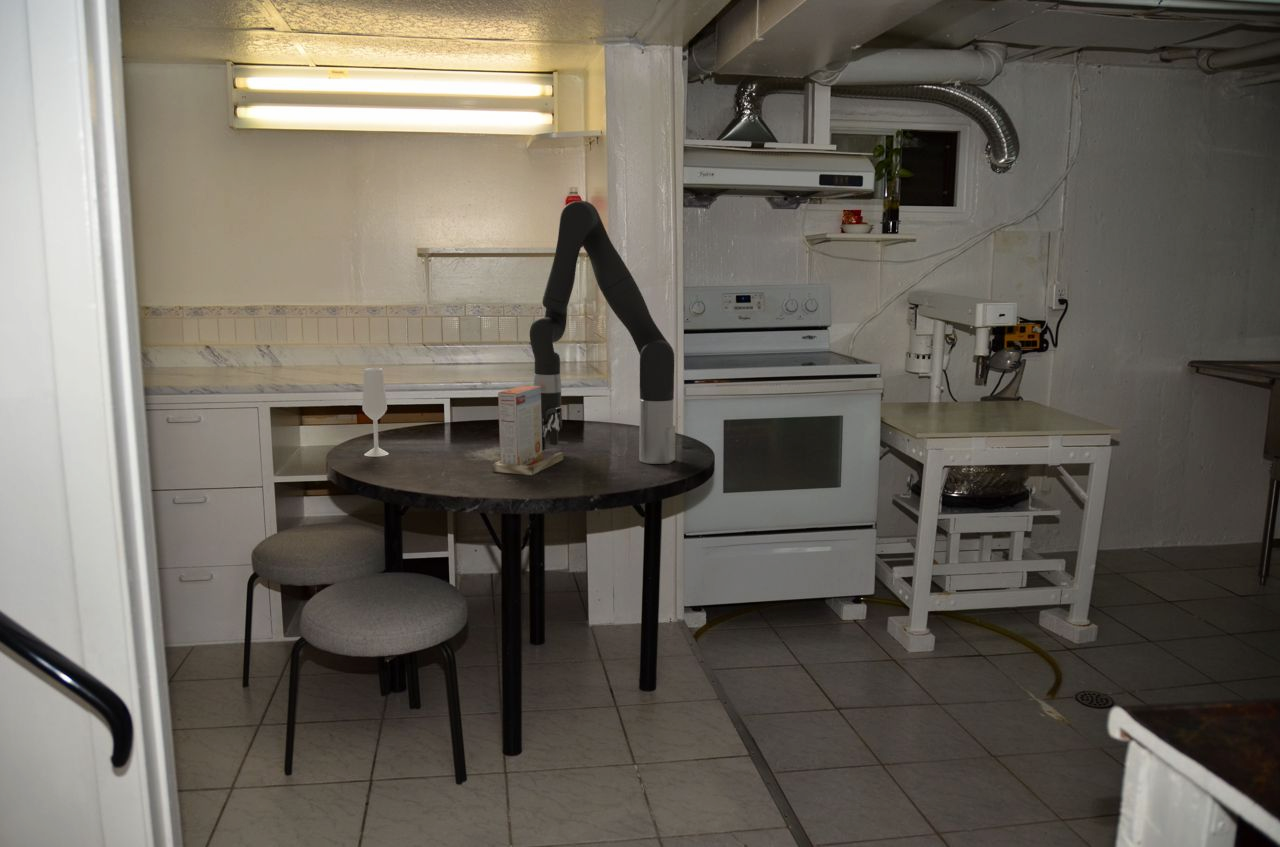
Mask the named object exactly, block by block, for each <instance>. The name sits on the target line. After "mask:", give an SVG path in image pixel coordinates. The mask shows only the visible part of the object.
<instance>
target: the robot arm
mask: <svg viewBox="0 0 1280 847" xmlns="http://www.w3.org/2000/svg"><path fill="white" fill-rule="evenodd" d="M559 218H560V219H559V225H558V226H559V227H558V235H557V242H556V248H555V253H554V258H553V261H552V265H551V269H550V272H549V276H548V279H547V282H546V287H545V289H544V294H543V297H542V306H543V307H544V308H545V315H544V317H540V318H537V319H535V320H533V322H532V323H531V325H530V329H529V340H530V342H529V343H530V346H531V350H532V351H531V352H532V354H533V356H534V357H533V358H534V378H533V386H540V387H541V422H542V452H543V451H545V450H547V447H546V442H547V440H546V435H547V431H550V432H549V444H550V445H552V446H556V445H558V444H559V431H560V429H562V428H563V417H562V416H563V414H562V412H563V410H562V409H563V408H562V407H561V406H562V379H561V358H560V354H559V353H557V352H555V348H554V344H553V343H557V342H558V341H560V340H561V339H562V338H563V336H564V334H565V331H566V327H567V319H568V318H567V316H568V305H569V304H570V299H571V296H572V292H573V289H574V286H575V279H576V269H577V263H578V260H579V259H578V258H579V255H580V251H581V249H582V247H583V249H584V251H585V253H586V254H587V257H588V258H589V261H590V264H591V266H592V271H593V274H594V277H595V280H596V283H597V285H598V288H599V290H600V291H601V293H602V295H603V297H604V299H605V300H606V302H607V304H608V306H609V307H610V309H611V311H613V313H614V315H615V316H616V317H617V318H618V319H619V321H620V322H621V323H622V325H623V326H624V327H625V328H626V330H627V331H628V333H629V335H630V336H631V338H632V340H633V342H634V343H633V344H634V345H635V346H636V350H637V351H638V354H639V433H638V434H639V436H638V437H639V439H638V440H639V441H638V442H639V446H638V447H639V449H638V450H639V451H638V455H639V456H638V458H639V459H638V460H639V462H640V463H644V464H651V465H652V464H653V465H654V464H655V465H657V464H659V465H660V464H661V465H663V464H670V463H672V462H673V461H675V460H676V426H675V425H674V406H675V405H674V403H675V402H674V399H675V398H674V397H675V395H674V393H675V352H674V349H673V347H672V345H671V344H670V343H669V342H668V340H667V339H666V338H665V336H664V335H663V333H662V332H661V331H660V329H659V327H658V326H657V324H656V323H655V321H654V320H653V317H652V315H651V313H650V310H649V309H648V306H647V303H646V300H645V299H644V296H643V294H642V293H641V290H640V288H639V286H638V284H637V282H636V280H635V279H634V277H633V275H632V273H631V272H630V269H628V267H627V265H626V264H625V262H624V260H623V259H622V257H621V256H620V254H619V253H618V251H617V249H616V248H615V246H614V245H613V243H612V241H611V239H610V237H609V234H608V232H607V230H606V228H605V225H604V223H603V221H602V219H601V216H600V214H599V212H598V209H597V208H596V206H594V205H593V204H592V203H591V202H588V201H587V200H576V201H572V202H569V203H568V204H566V205H565V206H564V207H563V208H562V210H561V213H560V217H559Z"/></svg>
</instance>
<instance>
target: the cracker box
mask: <svg viewBox="0 0 1280 847" xmlns="http://www.w3.org/2000/svg"><path fill="white" fill-rule="evenodd" d="M497 397H498V398H497V399H498V400H497V401H498V402H497V403H498V425H499V428H498V429H499V431H498V432H499V455H500V456H499V461H500V464H511V465H522V466H531V465H533V464H535V463H538V462H540V461H542V460H543V451H542V422H541V387H540V386H534V385H521V386H517V387H513V388H510V389H505V390H503V391H500V392H498V393H497Z"/></svg>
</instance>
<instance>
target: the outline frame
mask: <svg viewBox="0 0 1280 847" xmlns="http://www.w3.org/2000/svg"><path fill="white" fill-rule="evenodd" d="M563 460H564V452H557V453H555V454H552V455H550V456H548V457H547V458H544V459H542V461H540V462H538V463H535V464H533V465H531V466H522V465H511V464H500V460H498V461H496V462H494V463H492V464H491V472H493V473H506V474H517V475H526V476H527V475H528V476H534V475H536V474H537V473H539V472H541V471H543V470H545V469H548V468H549V467H552V466H553V465H555V464H557V463H560V462H561V461H563Z"/></svg>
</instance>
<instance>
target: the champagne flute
mask: <svg viewBox="0 0 1280 847" xmlns="http://www.w3.org/2000/svg"><path fill="white" fill-rule="evenodd" d="M363 371H364V374H363V391H362V408H361V409H362V412H364V413H363V414H365V415H366V416H367V417H368V418H369V419H370V420H372V423H373V425H372V426H373V430H372V431H373V448H372V449H370V450H368V451H367V452H365V453H364V456H366V457H384V456H388V455H389V452H387V451H386V450H384V449H382V448H380V447H379V427H378V426H379V425H378V424H379V423H378V420H379V419H381V418H382V417H383V416H384V415H385V413H387V410H388V406H387V405H388V404H387V396H386V388H385V382H384V381H385V380H384V374H383V368H380V367H369V368H364V370H363Z"/></svg>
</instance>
